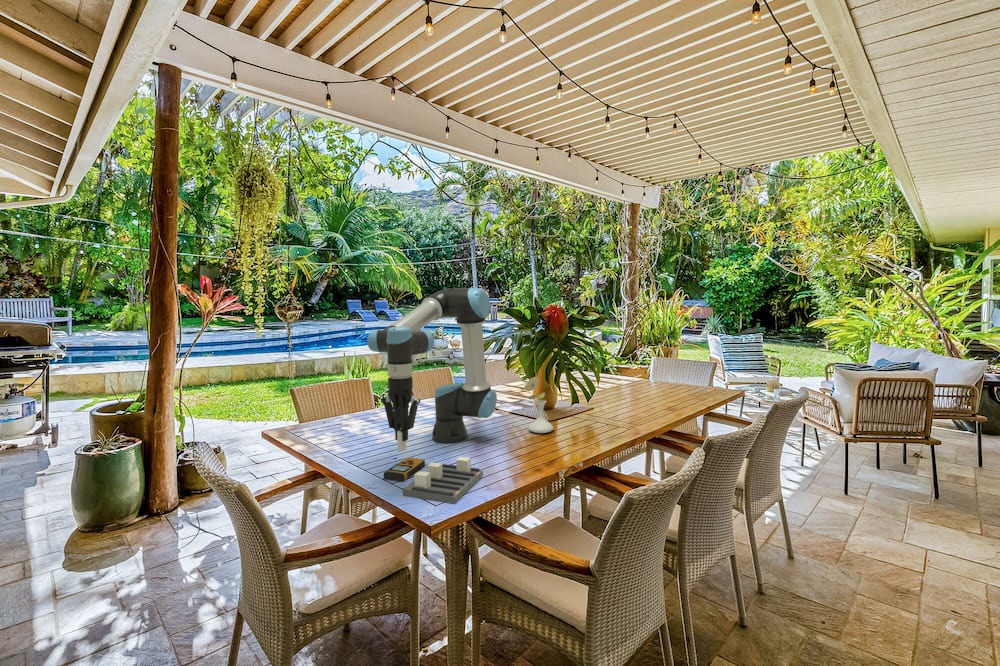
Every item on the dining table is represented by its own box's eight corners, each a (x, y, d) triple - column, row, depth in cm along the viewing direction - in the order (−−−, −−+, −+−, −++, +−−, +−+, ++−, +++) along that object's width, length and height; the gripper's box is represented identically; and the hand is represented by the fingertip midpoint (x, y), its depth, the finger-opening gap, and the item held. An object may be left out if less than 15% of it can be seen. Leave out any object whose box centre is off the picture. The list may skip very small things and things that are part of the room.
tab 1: (419, 484, 153) (419, 471, 152) (430, 486, 151) (430, 472, 151) (414, 488, 150) (414, 474, 149) (426, 490, 148) (425, 476, 148)
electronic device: (426, 467, 175) (426, 458, 175) (404, 483, 160) (404, 473, 160) (406, 464, 178) (406, 455, 177) (382, 480, 163) (382, 470, 163)
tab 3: (460, 469, 165) (460, 456, 165) (470, 470, 164) (470, 458, 163) (456, 472, 162) (456, 459, 162) (467, 474, 161) (467, 461, 161)
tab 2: (431, 475, 160) (431, 462, 160) (442, 477, 159) (442, 463, 158) (427, 478, 157) (427, 465, 157) (438, 480, 156) (437, 467, 155)
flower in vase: (547, 426, 222) (547, 373, 220) (557, 433, 212) (557, 377, 209) (520, 429, 218) (520, 375, 216) (530, 436, 207) (529, 379, 205)
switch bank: (436, 470, 170) (435, 462, 170) (482, 476, 164) (482, 468, 164) (402, 495, 150) (402, 486, 150) (454, 503, 144) (454, 494, 143)
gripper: (375, 377, 149) (377, 451, 150) (412, 379, 144) (413, 456, 146) (389, 373, 156) (391, 444, 157) (424, 375, 151) (426, 449, 153)
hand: (402, 450), depth 152 cm, fingers closed
